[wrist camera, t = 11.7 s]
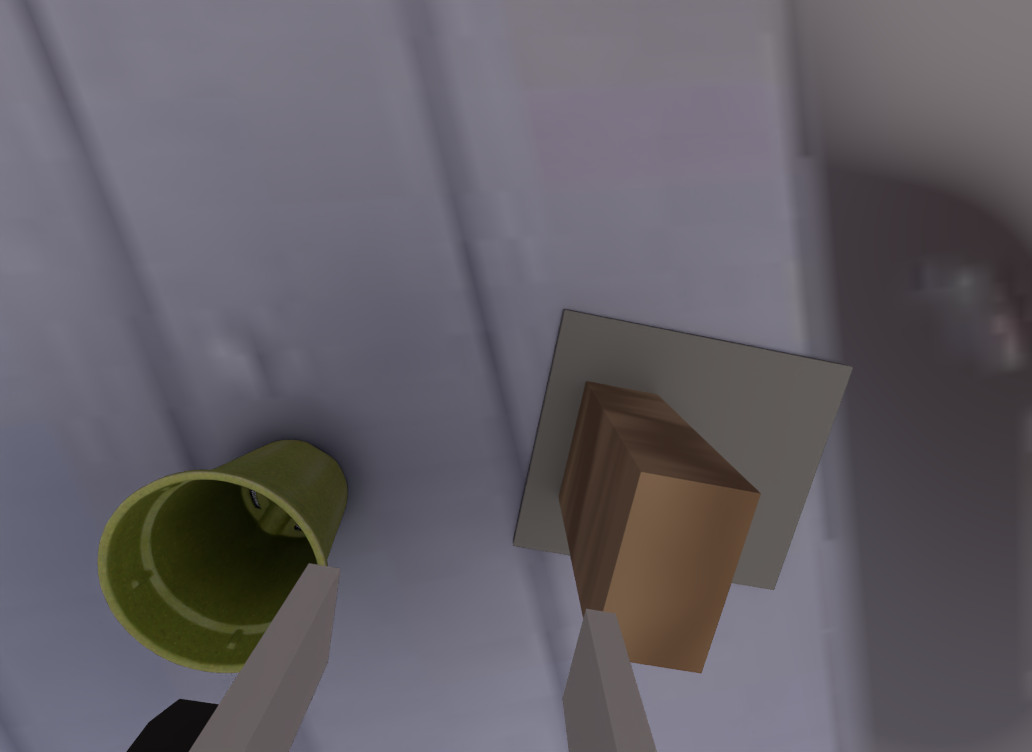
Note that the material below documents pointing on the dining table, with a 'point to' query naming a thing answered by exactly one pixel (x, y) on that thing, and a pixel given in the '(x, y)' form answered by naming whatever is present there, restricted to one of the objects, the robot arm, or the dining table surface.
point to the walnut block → (652, 524)
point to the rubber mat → (693, 422)
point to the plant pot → (219, 552)
